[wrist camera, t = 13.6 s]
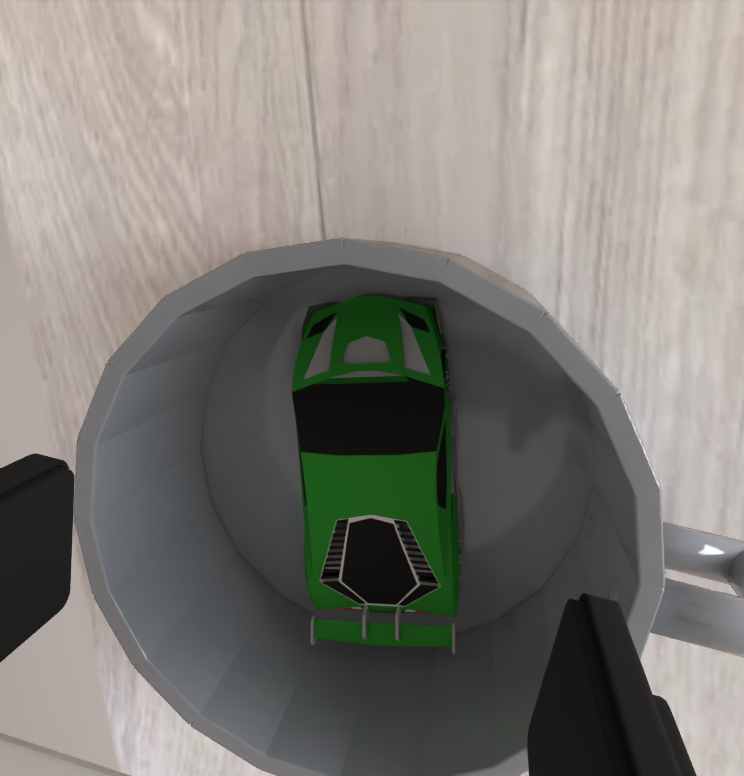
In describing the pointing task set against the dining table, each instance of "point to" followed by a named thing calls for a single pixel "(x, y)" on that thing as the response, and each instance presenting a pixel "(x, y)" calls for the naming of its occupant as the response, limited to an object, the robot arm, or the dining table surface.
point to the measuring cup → (286, 528)
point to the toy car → (378, 469)
